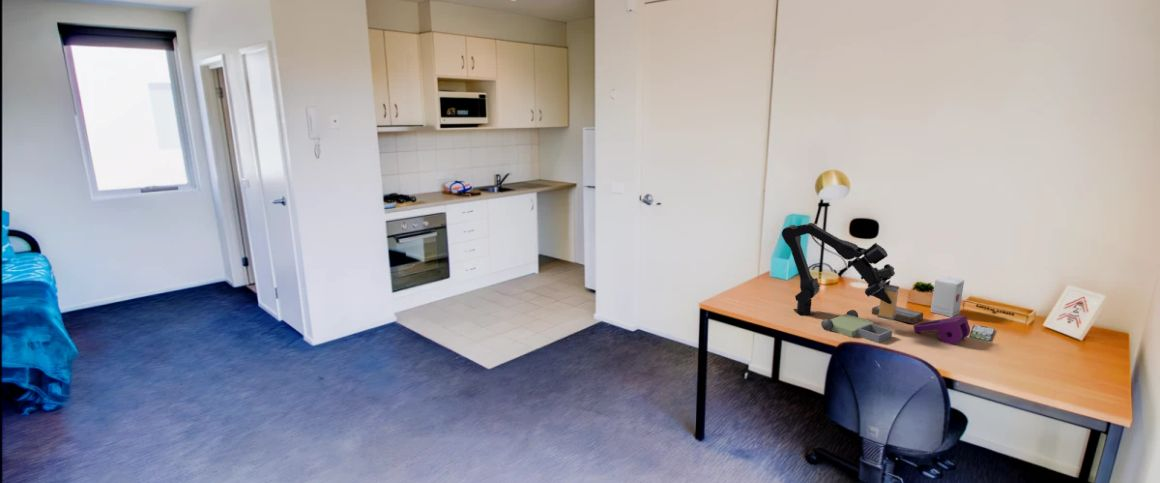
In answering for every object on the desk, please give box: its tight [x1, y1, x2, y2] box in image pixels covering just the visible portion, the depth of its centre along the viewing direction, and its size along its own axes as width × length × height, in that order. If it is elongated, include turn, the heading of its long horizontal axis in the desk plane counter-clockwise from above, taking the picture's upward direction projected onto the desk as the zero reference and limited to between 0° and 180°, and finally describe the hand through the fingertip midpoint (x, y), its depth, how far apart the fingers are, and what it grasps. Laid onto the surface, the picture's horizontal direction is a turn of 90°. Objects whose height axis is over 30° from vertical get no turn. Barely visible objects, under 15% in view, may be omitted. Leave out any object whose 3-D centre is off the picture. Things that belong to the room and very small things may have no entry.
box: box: [871, 304, 924, 325], centre depth 263 cm, size 11×17×3 cm, turn 38°
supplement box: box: [930, 275, 965, 318], centre depth 266 cm, size 9×9×15 cm
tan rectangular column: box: [876, 284, 900, 321], centre depth 246 cm, size 6×6×12 cm
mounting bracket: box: [912, 315, 971, 345], centre depth 242 cm, size 9×8×18 cm
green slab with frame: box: [820, 309, 893, 344], centre depth 247 cm, size 22×19×4 cm
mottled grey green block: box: [968, 324, 996, 343], centre depth 244 cm, size 7×1×15 cm
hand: (892, 301), depth 245 cm, fingers closed on tan rectangular column, 5 cm apart
